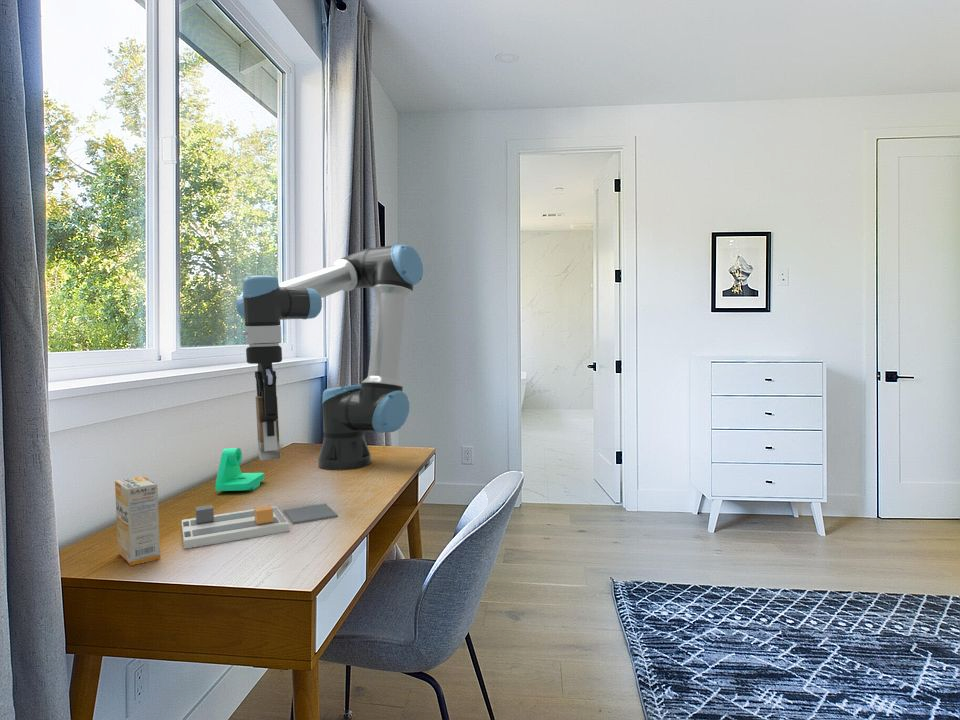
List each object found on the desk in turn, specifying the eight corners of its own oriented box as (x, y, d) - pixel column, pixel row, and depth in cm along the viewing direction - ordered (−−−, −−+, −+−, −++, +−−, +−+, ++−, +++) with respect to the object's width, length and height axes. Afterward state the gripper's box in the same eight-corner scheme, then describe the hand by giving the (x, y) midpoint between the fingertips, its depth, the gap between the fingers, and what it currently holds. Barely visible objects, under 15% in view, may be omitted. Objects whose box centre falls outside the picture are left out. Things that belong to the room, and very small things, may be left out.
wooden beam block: (277, 455, 135) (274, 395, 135) (280, 458, 132) (277, 396, 131) (258, 457, 134) (255, 396, 133) (261, 460, 130) (258, 398, 129)
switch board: (276, 512, 125) (276, 505, 125) (289, 531, 113) (288, 522, 112) (181, 527, 116) (181, 519, 116) (184, 548, 104) (183, 540, 104)
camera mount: (247, 494, 141) (246, 452, 141) (215, 495, 141) (214, 453, 141) (265, 482, 153) (264, 443, 153) (236, 483, 153) (234, 444, 153)
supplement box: (116, 554, 102) (113, 480, 101) (147, 547, 105) (144, 475, 105) (129, 567, 96) (125, 488, 96) (161, 559, 99) (158, 482, 99)
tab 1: (212, 517, 117) (212, 504, 117) (213, 520, 114) (213, 508, 114) (195, 519, 116) (195, 507, 116) (196, 523, 113) (196, 510, 113)
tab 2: (270, 517, 116) (270, 505, 116) (273, 521, 113) (272, 509, 113) (254, 520, 114) (254, 507, 114) (256, 524, 112) (256, 511, 112)
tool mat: (325, 505, 130) (325, 503, 130) (337, 516, 121) (337, 514, 121) (283, 511, 126) (283, 509, 126) (292, 524, 117) (292, 522, 117)
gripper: (241, 345, 137) (246, 444, 138) (251, 346, 122) (257, 457, 123) (274, 344, 141) (279, 440, 142) (288, 345, 126) (293, 452, 127)
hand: (269, 448), depth 133 cm, fingers closed on wooden beam block, 4 cm apart
